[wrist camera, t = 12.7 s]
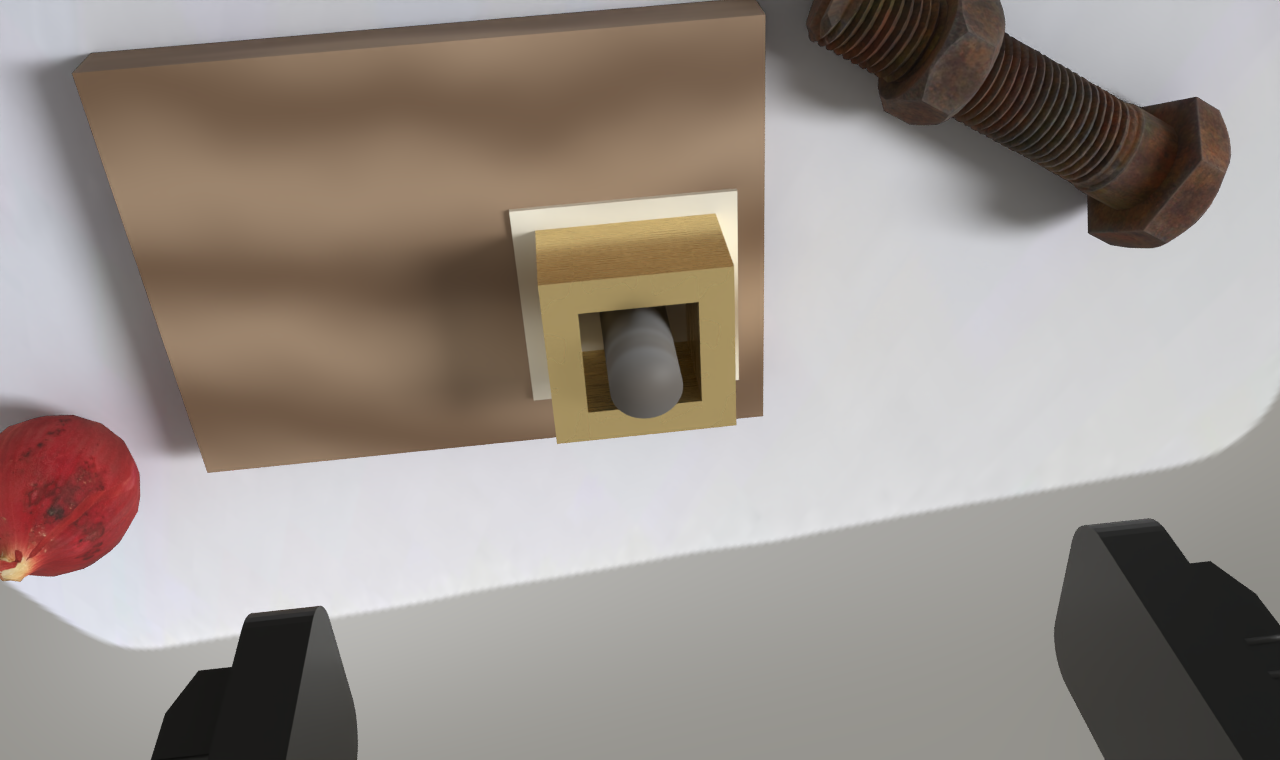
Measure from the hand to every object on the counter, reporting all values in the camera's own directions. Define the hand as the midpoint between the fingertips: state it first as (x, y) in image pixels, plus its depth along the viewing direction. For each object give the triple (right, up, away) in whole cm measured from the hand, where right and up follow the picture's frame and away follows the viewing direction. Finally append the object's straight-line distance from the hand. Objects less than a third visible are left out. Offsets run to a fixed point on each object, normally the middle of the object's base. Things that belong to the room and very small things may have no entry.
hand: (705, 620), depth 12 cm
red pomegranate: (-23, +1, +34) cm, 41 cm away
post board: (-7, +8, +30) cm, 32 cm away
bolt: (+12, +14, +29) cm, 34 cm away
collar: (-1, +6, +30) cm, 30 cm away
